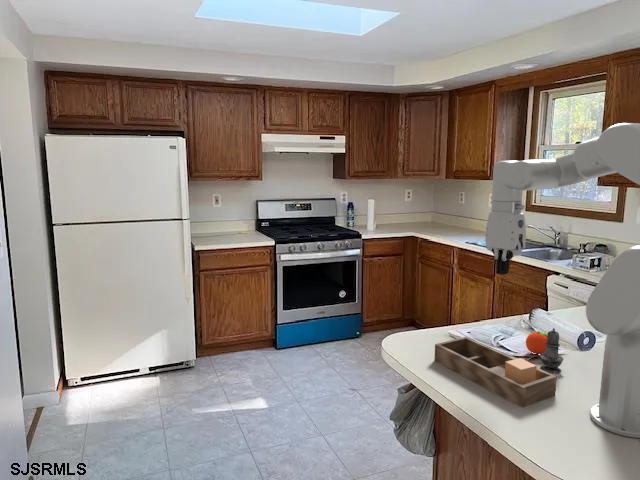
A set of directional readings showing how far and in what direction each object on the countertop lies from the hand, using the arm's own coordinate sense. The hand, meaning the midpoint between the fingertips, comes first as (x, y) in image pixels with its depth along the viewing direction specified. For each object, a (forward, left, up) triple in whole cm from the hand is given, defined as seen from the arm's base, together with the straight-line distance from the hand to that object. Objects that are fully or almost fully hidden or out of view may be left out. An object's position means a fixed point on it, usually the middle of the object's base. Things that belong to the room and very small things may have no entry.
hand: (502, 273), depth 130 cm
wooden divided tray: (-5, +8, -26) cm, 28 cm away
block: (-14, +8, -24) cm, 29 cm away
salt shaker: (-10, -10, -27) cm, 30 cm away
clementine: (-2, -16, -27) cm, 31 cm away
